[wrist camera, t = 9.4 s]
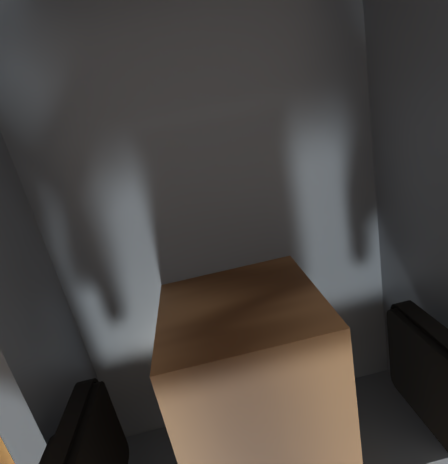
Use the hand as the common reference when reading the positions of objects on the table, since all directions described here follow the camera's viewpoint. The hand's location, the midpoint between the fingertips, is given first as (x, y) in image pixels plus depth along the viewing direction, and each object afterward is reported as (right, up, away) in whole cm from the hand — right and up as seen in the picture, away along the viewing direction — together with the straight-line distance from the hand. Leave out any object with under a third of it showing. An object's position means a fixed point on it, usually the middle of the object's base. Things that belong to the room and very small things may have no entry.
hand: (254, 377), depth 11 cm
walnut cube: (0, +1, +3) cm, 3 cm away
